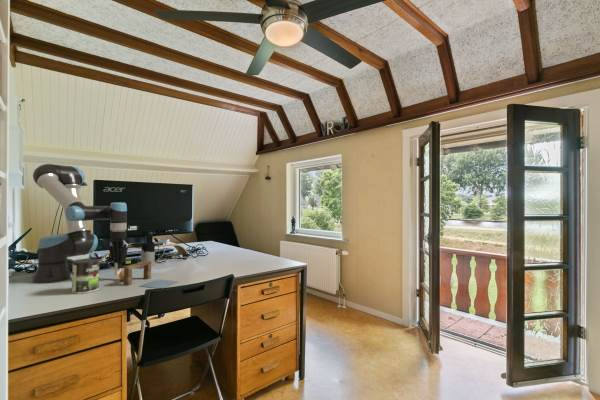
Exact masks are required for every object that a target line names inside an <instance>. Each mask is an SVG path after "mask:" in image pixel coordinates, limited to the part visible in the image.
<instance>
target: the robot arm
mask: <svg viewBox="0 0 600 400" xmlns="http://www.w3.org/2000/svg"><path fill="white" fill-rule="evenodd" d="M32 173H33V174H32V180H33V181H34V183H35V184H36V185H37V186H38V187H40V188H41V189H44V190H45V191H46V192H48V194H49V195H51V197H53V199H54V200H55V201H57V203H58V204H59V205H61V207H62V208H63V212H64V217H65V221H66V228H67V232H66V233H58V234H57V233H56V234H50V235H49V234H48V235H45V236H42V237H41V238H40V239H39V240H38V246H37V248H38V253H37V254H38V255H37V256H38V257H37V261H38V263H37V268H36V270H35V273H34V275H33V276H32V282H33V283H34V284H49V283H55V282H56V283H57V282H60V281H61V282H62V281H65V280H69V279H70V278H72V272H71V270H70V267H69V265H68V258H72V257H77V256H78V257H79V256H86V255H89V254H92V253H94V252H95V251H96V249H97V247H98V243H99V238H98V237H97V235H96V234H94V233H92V231H91V229H89V228H88V227H87V223H86V222H87V221H104V220H105V221H106V220H110V221H109V222H110V225H109V230H110V233H109V238H110V242H108V243H107V244H106V245H107V247H108V252H109V256H110V261H111V262H113V263H114V264H113V268H114V275H115V276H119V274H120V272H121V271H122V268H123V262H125V261H126V260H127V259H126V258H127V254H128V250H129V247H130V243H127V241H126V238H127V237H128V236H127V232H128V231H127V228H128V226H127V223H128V222H127V217H128V216H127V215H128V206H127V203H126V202H121V201H120V202H116V201H115V202H111V203H110V205H85V204H84V203H83V202H82V199H81V194H80V189H81V188H82V185H83V184H84V182H85V174H84V172H83V171H82V169H80V168H78V167H75V166H71V165H62V164H53V163H45V164H41V165H38V167H35V169H34V170H33V172H32Z"/></svg>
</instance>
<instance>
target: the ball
mask: <svg viewBox="0 0 600 400" xmlns="http://www.w3.org/2000/svg"><path fill="white" fill-rule="evenodd" d="M118 277H119V279H120V280H121V281H124V269H123V270H122V269H121V272H120V274H119V275H118Z"/></svg>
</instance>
